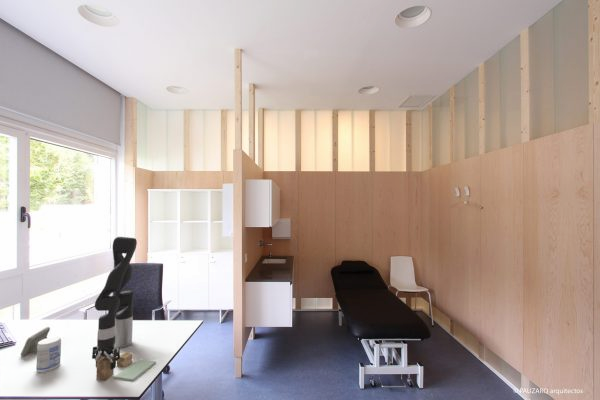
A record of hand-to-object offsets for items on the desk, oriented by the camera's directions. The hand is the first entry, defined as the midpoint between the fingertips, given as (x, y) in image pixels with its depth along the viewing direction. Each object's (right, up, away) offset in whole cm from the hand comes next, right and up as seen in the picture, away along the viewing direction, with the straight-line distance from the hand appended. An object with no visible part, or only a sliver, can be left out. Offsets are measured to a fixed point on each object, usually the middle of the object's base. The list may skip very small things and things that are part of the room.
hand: (105, 367), depth 137 cm
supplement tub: (-36, -5, +8) cm, 38 cm away
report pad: (+12, -5, +6) cm, 14 cm away
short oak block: (+2, -5, +12) cm, 13 cm away
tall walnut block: (0, -5, 0) cm, 5 cm away
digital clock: (-61, -6, +26) cm, 67 cm away
